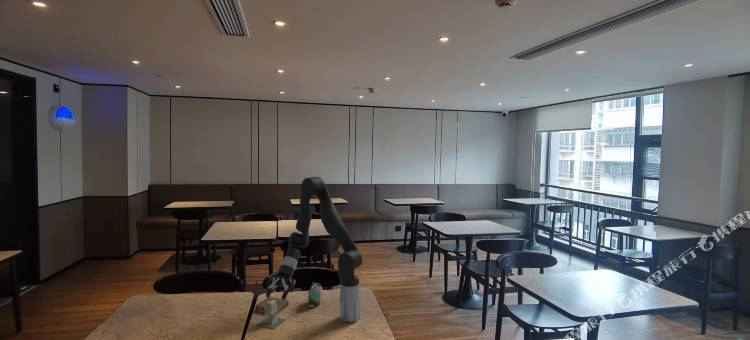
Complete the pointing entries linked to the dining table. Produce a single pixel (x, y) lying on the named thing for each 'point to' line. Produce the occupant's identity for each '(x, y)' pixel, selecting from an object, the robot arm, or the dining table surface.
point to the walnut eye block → (280, 304)
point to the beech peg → (270, 311)
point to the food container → (314, 295)
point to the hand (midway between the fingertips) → (275, 298)
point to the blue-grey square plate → (272, 326)
